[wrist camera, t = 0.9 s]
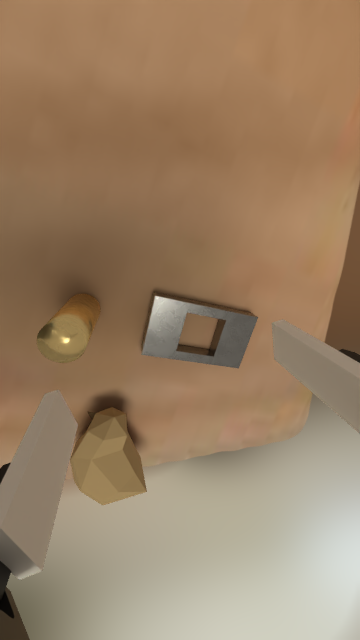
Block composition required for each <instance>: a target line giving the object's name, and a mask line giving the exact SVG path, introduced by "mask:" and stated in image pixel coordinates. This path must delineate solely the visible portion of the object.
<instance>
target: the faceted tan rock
mask: <svg viewBox="0 0 360 640" xmlns="http://www.w3.org/2000/svg"><path fill="white" fill-rule="evenodd" d="M88 413H89V415H90V417H91V419H92V421H91V423H90V425H89V427H88V429H87V431H86V432H85V433H84V434H83V435H82V436H81V437H80V438H79V439H78V441H77V442H76V444H75V447H74V450H73V453H72V456H71V458H70V462H71V467H72V472H73V477H74V481H75V483H76V485H77V486H78V488H79V490H80V491H81V492H82V493H84V494H86V495H87V496H89V497H90V498H92V499H93V500H95V501H97V502H98V503H100V504H101V505H105V504H109V503H112V502H115V501H118V500H122V499H125V498H128V497H131V496H134V495H137V494H141V493H144V492H147V490H146V485H145V480H144V474H143V469H142V464H141V458H140V456H139V454H138V452H137V450H136V448H135V446H134V444H133V442H132V440H131V438H130V436H129V434H128V432H127V415H126V413H124V412H122V411H119V410H117V409H115V408H113V407H111V408H108V409H105V410H103V411H100V412H97V413H92V412H88Z"/></svg>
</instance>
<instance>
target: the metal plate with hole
mask: <svg viewBox="0 0 360 640" xmlns="http://www.w3.org/2000/svg"><path fill="white" fill-rule="evenodd" d="M187 313H192V314H198V315H203V316H208V317H213V318H218V319H219V320H218V324H217V327H216V330H215V333H214V336H213V339H212V342H211V345H210V348H209V349H204V348H197V347H191V346H185V345H178V342H179V339H180V335H181V332H182V328H183V325H184V321H185V317H186V314H187ZM257 319H258V317H257V316H255V315H254V314H252V313H251V312H247V311H242V310H237V309H233V308H228V307H223V306H219V305H214V304H209V303H205V302H200V301H195V300H191V299H186V298H181V297H177V296H172V295H167V294H162V293H158V292H154V293H153V298H152V302H151V306H150V311H149V315H148V319H147V324H146V328H145V332H144V337H143V341H142V346H141V352H142V355H148V356H155V357H162V358H169V359H176V360H183V361H190V362H197V363H205V364H212V365H219V366H226V367H233V368H239V366H240V363H241V361H242V358H243V355H244V353H245V350H246V348H247V345H248V342H249V340H250V337H251V334H252V332H253V329H254V326H255V324H256V321H257Z"/></svg>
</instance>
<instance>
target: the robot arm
mask: <svg viewBox="0 0 360 640" xmlns="http://www.w3.org/2000/svg"><path fill="white" fill-rule="evenodd" d="M272 333H273V347H274V359H275V360H276V361H277V362H278V363H279V364H280V365H281V366H283V367H284V368H285V369H286V370H287V371H288V372H290V373H291V374H292V375H293V376H294V377H295V378H296V379H298V380H299V381H300V382H301V383H302V384H303V385H304V386H306V387H307V388H308V389H309V390H310V391H311V392H312V393H314V394H315V395H316V396H317V397H318V398H320V399H321V400H322V401H323V402H324V403H325V404H326V405H327V406H329V407H330V408H331V409H332V410H333V411H334V412H335V413H337V414H338V415H339V416H340V417H341V418H342V419H344V420H345V421H346V422H347V423H348V424H349V425H350V426H352V427H353V428H354V429H355V430H356V431H357V432H358V433H360V355H359V354H357V353H355V352H351V351H348V350H344V349H341V350H339V351H338V350H336V349H334V348H332V347H331V346H329V345H327V344H325V343H324V342H322V341H320V340H318V339H317V338H315V337H313V336H311V335H310V334H308V333H306V332H304V331H303V330H301V329H299V328H297V327H296V326H294V325H292V324H290V323H289V322H287V321H285V320H283V319H282V320H279V321H276V322H273V323H272ZM77 427H78V423H77V422H76V420H75V418H74V416H73V414H72V413H71V411H70V409H69V407H68V405H67V404H66V402H65V400H64V398H63V396H62V394H61V393H60V391H59V390H56V391H52V392H49V393H46V394H45V395H44V397H43V399H42V401H41V403H40V405H39V407H38V409H37V411H36V413H35V415H34V417H33V419H32V421H31V423H30V425H29V427H28V429H27V431H26V433H25V435H24V437H23V439H22V441H21V443H20V445H19V447H18V449H17V451H16V453H15V455H14V457H13V459H12V462H11V463H8V464H5V465H3V466H2V467H1V468H0V640H30V639H29V637H28V634H27V632H26V629H25V627H24V624H23V622H22V619H21V617H20V614H19V612H18V609H17V607H16V605H15V602H14V599H13V597H12V594H11V592H10V590H9V589H8V588H7V587H6V585H7V582H8V579H9V576H10V573H13V574H14V575H15V576H16V577H17V578H18V579H19V580H21V579H23V578H26V577H28V576H30V575H33V574H36V573H38V572H41V571H42V570H43V566H44V562H45V558H46V554H47V550H48V546H49V542H50V537H51V533H52V529H53V525H54V520H55V517H56V513H57V509H58V505H59V501H60V497H61V492H62V488H63V484H64V480H65V476H66V472H67V468H68V464H69V460H70V456H71V452H72V448H73V444H74V439H75V435H76V431H77Z"/></svg>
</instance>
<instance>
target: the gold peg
mask: <svg viewBox="0 0 360 640" xmlns="http://www.w3.org/2000/svg"><path fill="white" fill-rule="evenodd" d="M99 315H100V305H99V303H98V301H97V300H96V299H95V298H94V297H93V296H91V295H88V294H77V295H75V296H73V297H72V298H71V299H70V300H69V301H68V302H67V303H66V304H65V305H64V306H63V307H62V308H61V309H60V310H59V311H58V312H57V313H56V314H55V315H54V316H53V317H52V318H51V319H50V321H49V322H48V323H47V324H46V325H45V326H44V327H43V328H42V329H41V330H40V331H39V333H38V336H37V346H38V348H39V350H40V352H41V353H42V354H43V355H44V356H45V357H46V358H48V359H50V360H52V361H54V362H59V363H68V362H72V361H75V360H76V359H78V358H79V357H80V356H81V355H82V354H83V353H84V351H85V349H86V346H87V344H88V341H89V339H90V336H91V334H92V332H93V329H94V327H95V324H96V322H97V319H98V317H99Z"/></svg>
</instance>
